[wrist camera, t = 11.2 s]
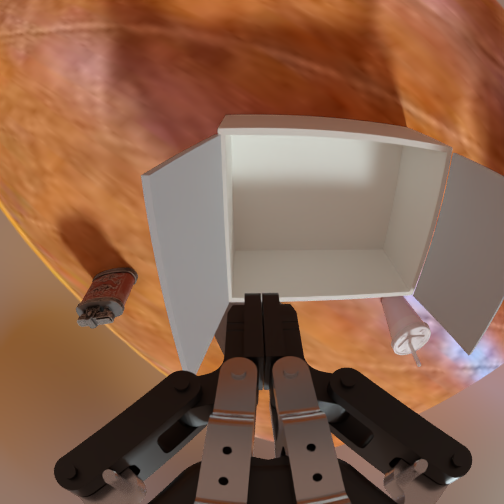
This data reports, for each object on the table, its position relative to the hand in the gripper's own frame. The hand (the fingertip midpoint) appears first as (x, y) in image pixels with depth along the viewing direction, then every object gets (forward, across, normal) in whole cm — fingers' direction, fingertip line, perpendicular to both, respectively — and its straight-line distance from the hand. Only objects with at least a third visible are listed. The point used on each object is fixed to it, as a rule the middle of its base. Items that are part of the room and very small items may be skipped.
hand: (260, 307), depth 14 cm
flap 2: (+9, -20, +4) cm, 22 cm away
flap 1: (+9, +4, +4) cm, 10 cm away
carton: (+24, -8, +4) cm, 26 cm away
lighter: (+24, +21, +17) cm, 36 cm away
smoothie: (+25, -23, +22) cm, 40 cm away
